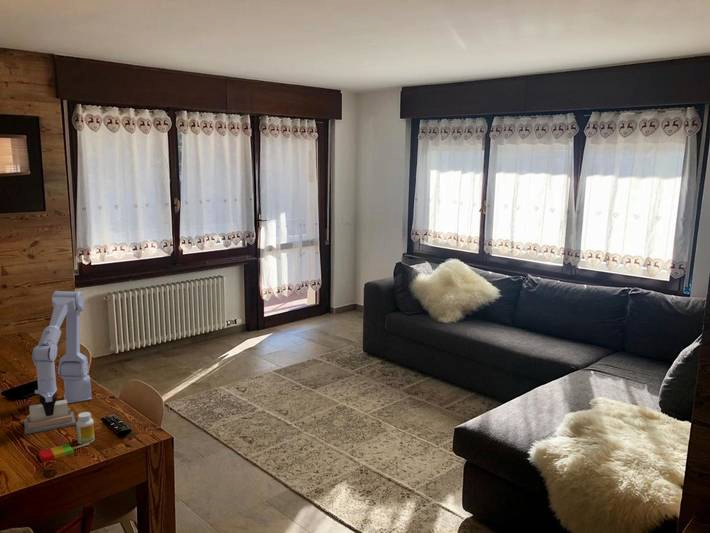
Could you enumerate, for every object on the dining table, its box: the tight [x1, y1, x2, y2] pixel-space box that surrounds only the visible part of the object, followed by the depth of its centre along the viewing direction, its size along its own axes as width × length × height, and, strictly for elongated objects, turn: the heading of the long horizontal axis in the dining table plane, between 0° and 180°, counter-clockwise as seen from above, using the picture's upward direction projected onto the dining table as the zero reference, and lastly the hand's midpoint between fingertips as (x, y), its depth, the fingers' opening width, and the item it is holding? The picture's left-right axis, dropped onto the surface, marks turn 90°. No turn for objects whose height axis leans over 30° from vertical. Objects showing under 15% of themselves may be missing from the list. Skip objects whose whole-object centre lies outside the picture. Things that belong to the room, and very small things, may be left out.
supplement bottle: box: [75, 411, 96, 445], centre depth 199 cm, size 5×5×10 cm
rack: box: [23, 407, 77, 435], centre depth 210 cm, size 16×10×3 cm, turn 120°
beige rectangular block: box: [28, 399, 69, 422], centre depth 210 cm, size 12×4×5 cm, turn 120°
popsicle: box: [38, 443, 90, 462], centre depth 192 cm, size 6×15×2 cm, turn 130°
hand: (49, 413), depth 210 cm, fingers closed on beige rectangular block, 3 cm apart
